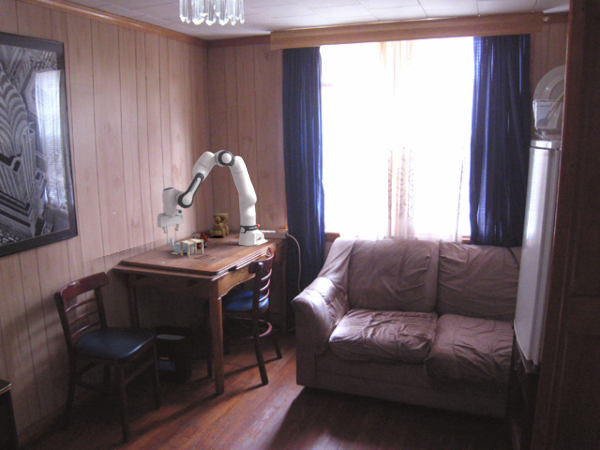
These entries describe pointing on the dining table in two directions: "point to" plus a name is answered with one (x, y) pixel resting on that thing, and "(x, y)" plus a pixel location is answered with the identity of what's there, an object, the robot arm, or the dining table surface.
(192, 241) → the tunnel
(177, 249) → the sled
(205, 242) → the toy fire truck
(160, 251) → the dining table surface
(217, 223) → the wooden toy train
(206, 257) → the pit
